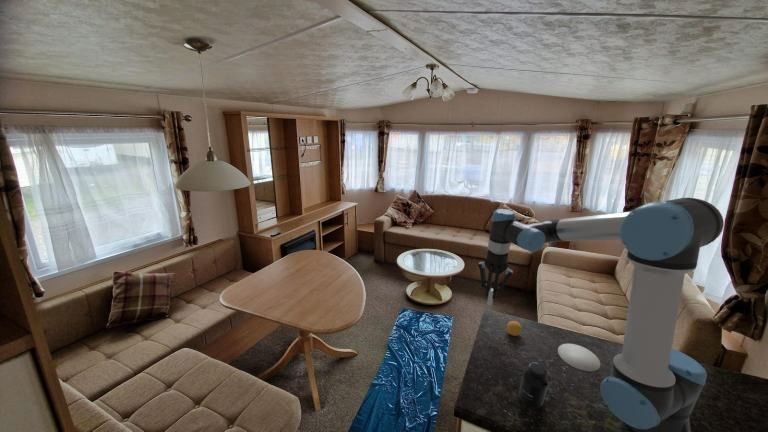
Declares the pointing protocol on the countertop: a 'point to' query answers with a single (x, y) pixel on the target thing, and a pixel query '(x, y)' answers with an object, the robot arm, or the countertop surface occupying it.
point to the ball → (514, 328)
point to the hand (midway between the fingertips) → (489, 304)
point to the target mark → (579, 357)
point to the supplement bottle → (533, 385)
